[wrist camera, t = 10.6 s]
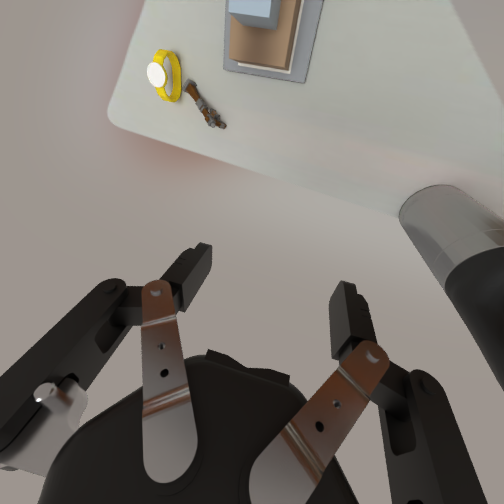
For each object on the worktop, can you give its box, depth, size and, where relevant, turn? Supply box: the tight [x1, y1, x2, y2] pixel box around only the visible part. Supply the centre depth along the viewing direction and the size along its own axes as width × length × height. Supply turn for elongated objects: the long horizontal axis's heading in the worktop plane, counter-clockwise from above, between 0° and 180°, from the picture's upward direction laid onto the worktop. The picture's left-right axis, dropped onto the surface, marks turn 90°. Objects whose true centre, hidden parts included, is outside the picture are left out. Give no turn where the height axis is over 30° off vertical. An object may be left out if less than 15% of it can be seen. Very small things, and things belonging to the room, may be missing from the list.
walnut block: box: [229, 0, 301, 71], centre depth 25 cm, size 7×10×5 cm
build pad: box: [223, 0, 323, 83], centre depth 27 cm, size 12×12×1 cm
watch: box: [147, 49, 182, 102], centre depth 32 cm, size 6×3×6 cm, turn 170°
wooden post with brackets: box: [182, 79, 226, 129], centre depth 34 cm, size 2×8×4 cm, turn 45°
